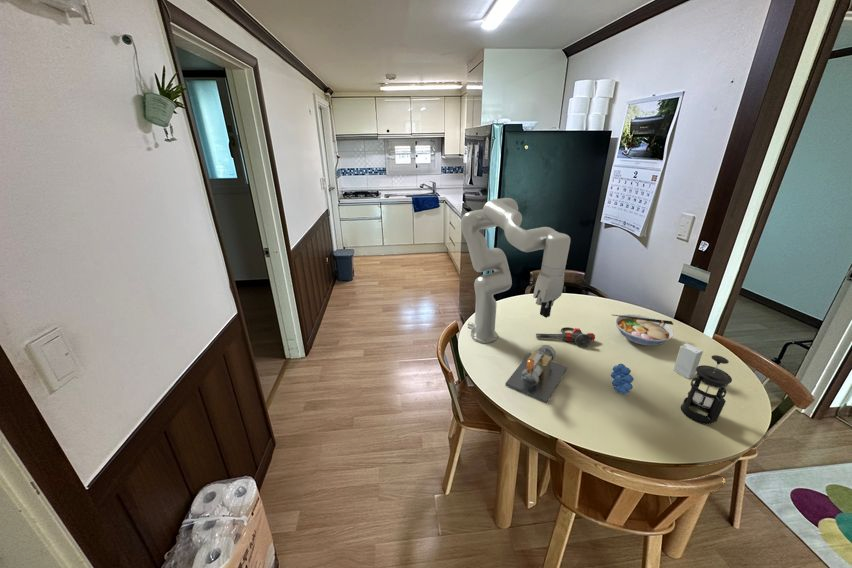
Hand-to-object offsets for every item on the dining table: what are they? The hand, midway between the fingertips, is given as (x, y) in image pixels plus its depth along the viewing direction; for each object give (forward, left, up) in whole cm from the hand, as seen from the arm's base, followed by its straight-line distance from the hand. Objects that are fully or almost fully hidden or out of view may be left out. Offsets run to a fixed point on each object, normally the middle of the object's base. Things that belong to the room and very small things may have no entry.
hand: (544, 315), depth 121 cm
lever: (+1, -6, -17) cm, 18 cm away
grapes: (+29, +10, -28) cm, 41 cm away
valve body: (+1, 0, -28) cm, 28 cm away
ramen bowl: (+30, +53, -28) cm, 66 cm away
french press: (+52, +13, -28) cm, 60 cm away
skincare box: (+47, +36, -28) cm, 65 cm away
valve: (+1, +35, -28) cm, 45 cm away
